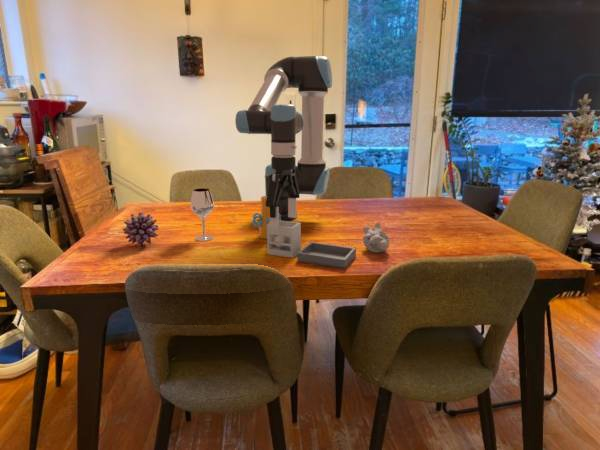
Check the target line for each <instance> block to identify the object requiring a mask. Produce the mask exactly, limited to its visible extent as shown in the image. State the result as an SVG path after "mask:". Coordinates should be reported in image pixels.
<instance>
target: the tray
mask: <svg viewBox="0 0 600 450" xmlns="http://www.w3.org/2000/svg"><path fill="white" fill-rule="evenodd" d="M356 255H357V248H356V247H350V246H343V245H335V244H330V243H329V244H328V243H321V242H315V241H310V242H309V243H308V244H307V245H305V246H303V247H302V248H301V250H300V251H299V252H297V255H296V262H298V263H302V264H308V265H315V266H322V267H327V268H328V267H329V268H333V269H334V268H335V269H341V270H346V269H347V267H348V266H349V265H350V264H351V263H352V262H353V261H354V259H355V258H357V256H356Z"/></svg>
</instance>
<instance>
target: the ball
mask: <svg viewBox="0 0 600 450" xmlns="http://www.w3.org/2000/svg"><path fill="white" fill-rule="evenodd" d="M273 242H280V243H285V238H284V237H283V236H281V235H277V236H275V237H274V240H273ZM274 245H275V246H277V247H282V246H283V245H276V244H274Z"/></svg>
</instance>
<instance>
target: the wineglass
mask: <svg viewBox="0 0 600 450" xmlns="http://www.w3.org/2000/svg"><path fill="white" fill-rule="evenodd" d="M214 208H215V202H214V199H213V194H212V193H211V190H210V188H204V187H202V188H195V189H193V190H192V194H191V198H190V209H191V211H192V212H193V213H194V214H195V215H197V216H198V217H199V218H200V220H201V226H202V235H198V236H197V237H195V241H197V242H210V241H211V240H214V236H213V235H207V234H206V224H205V219H206V218H207V217H208V216H209V215H210V214H211V213H212V212H213V211H214Z"/></svg>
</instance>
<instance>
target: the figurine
mask: <svg viewBox="0 0 600 450" xmlns="http://www.w3.org/2000/svg"><path fill="white" fill-rule="evenodd" d="M362 230H363V232H364V235H363V237H362V242H363V245H364V247H365V248H366V249H367V250H368V251H369V252H370V253H374V254H377V253H378V254H379V253H383V252H386V251H387V250H388V249H389V248H390V237H389V235H388V233H386V232H385V230H384V229H381V222H379V221H377V222H376V223H375V225H374V227H373V228H371V227H370V226H368V225H366V226H364V227H363V228H362Z"/></svg>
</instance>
